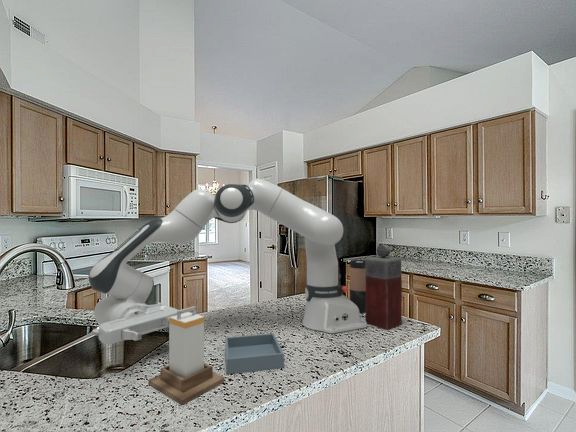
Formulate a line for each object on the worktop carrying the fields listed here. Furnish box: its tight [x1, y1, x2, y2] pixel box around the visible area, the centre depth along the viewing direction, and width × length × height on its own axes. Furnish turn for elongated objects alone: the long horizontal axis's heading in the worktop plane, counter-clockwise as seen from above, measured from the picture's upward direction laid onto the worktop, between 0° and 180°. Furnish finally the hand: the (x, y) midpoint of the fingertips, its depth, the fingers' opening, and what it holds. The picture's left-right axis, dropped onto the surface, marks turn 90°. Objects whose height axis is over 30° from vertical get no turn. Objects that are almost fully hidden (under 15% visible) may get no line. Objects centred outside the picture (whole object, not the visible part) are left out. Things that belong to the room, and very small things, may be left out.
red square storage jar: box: [365, 244, 403, 331], centre depth 110 cm, size 9×11×28 cm
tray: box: [224, 333, 285, 375], centre depth 83 cm, size 14×14×4 cm
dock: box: [147, 362, 226, 406], centre depth 70 cm, size 13×11×4 cm
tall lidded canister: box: [168, 305, 205, 378], centre depth 70 cm, size 6×5×16 cm
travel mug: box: [349, 259, 366, 314], centre depth 125 cm, size 8×8×20 cm
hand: (157, 330), depth 78 cm, fingers open, 8 cm apart
